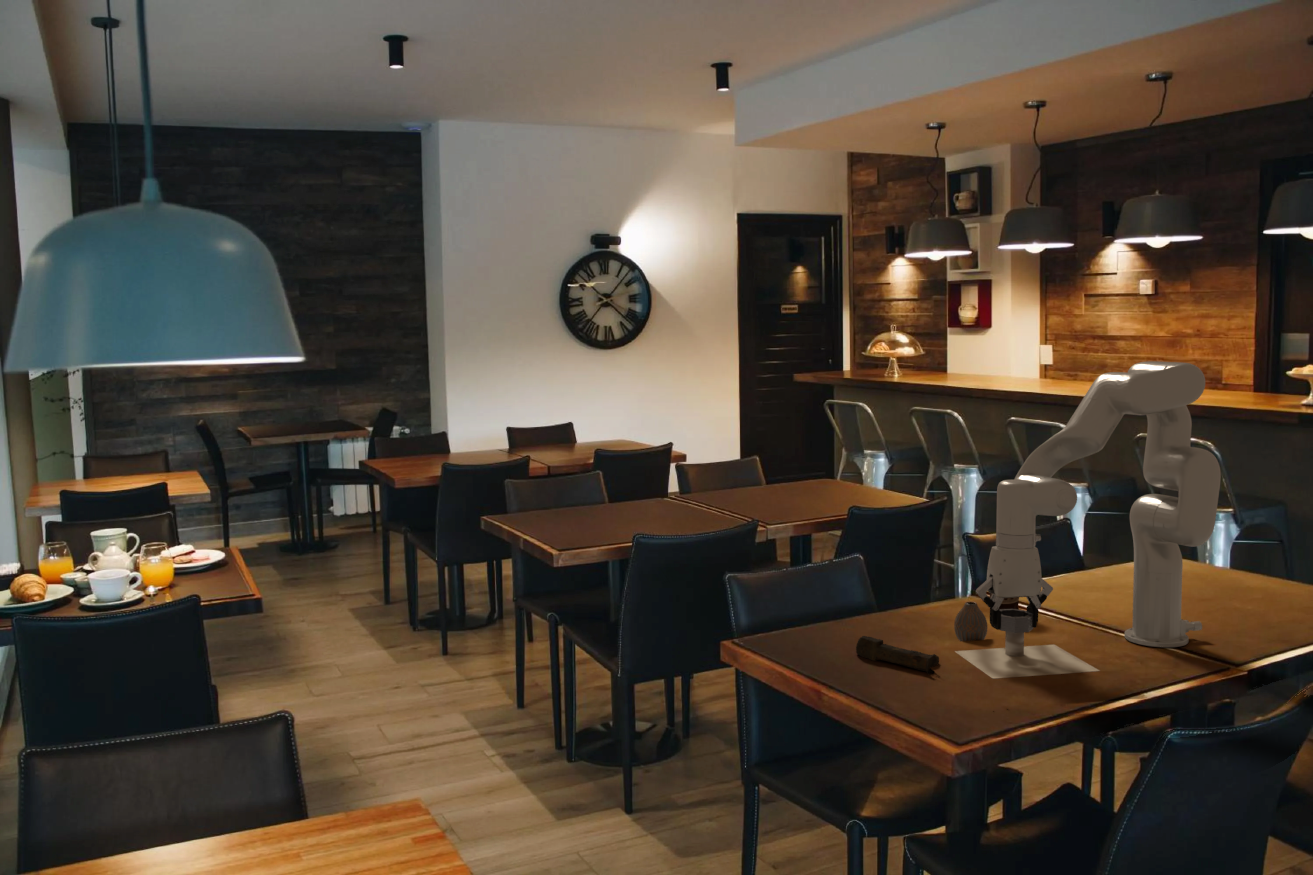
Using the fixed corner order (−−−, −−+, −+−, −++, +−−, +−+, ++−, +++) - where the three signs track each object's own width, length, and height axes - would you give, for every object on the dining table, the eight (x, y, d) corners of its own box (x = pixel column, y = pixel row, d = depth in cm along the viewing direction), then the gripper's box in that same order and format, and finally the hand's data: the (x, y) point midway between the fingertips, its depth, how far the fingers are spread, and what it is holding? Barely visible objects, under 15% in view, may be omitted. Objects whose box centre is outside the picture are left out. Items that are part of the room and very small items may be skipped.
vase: (988, 647, 237) (989, 607, 236) (955, 646, 238) (955, 606, 237) (985, 638, 243) (986, 599, 242) (953, 637, 245) (953, 598, 244)
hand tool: (940, 672, 222) (941, 649, 221) (929, 676, 219) (929, 653, 219) (864, 653, 236) (864, 631, 235) (852, 657, 233) (852, 635, 233)
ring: (1021, 622, 230) (1022, 608, 230) (1038, 631, 223) (1038, 616, 223) (989, 624, 229) (990, 609, 229) (1005, 633, 222) (1005, 618, 222)
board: (1054, 651, 233) (1054, 616, 232) (1100, 678, 215) (1100, 640, 214) (954, 658, 230) (954, 622, 229) (992, 685, 212) (992, 647, 211)
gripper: (1046, 536, 229) (1044, 620, 231) (966, 539, 227) (965, 624, 228) (1065, 542, 222) (1062, 629, 223) (982, 546, 219) (981, 634, 221)
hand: (1013, 626), depth 226 cm, fingers closed on ring, 7 cm apart
